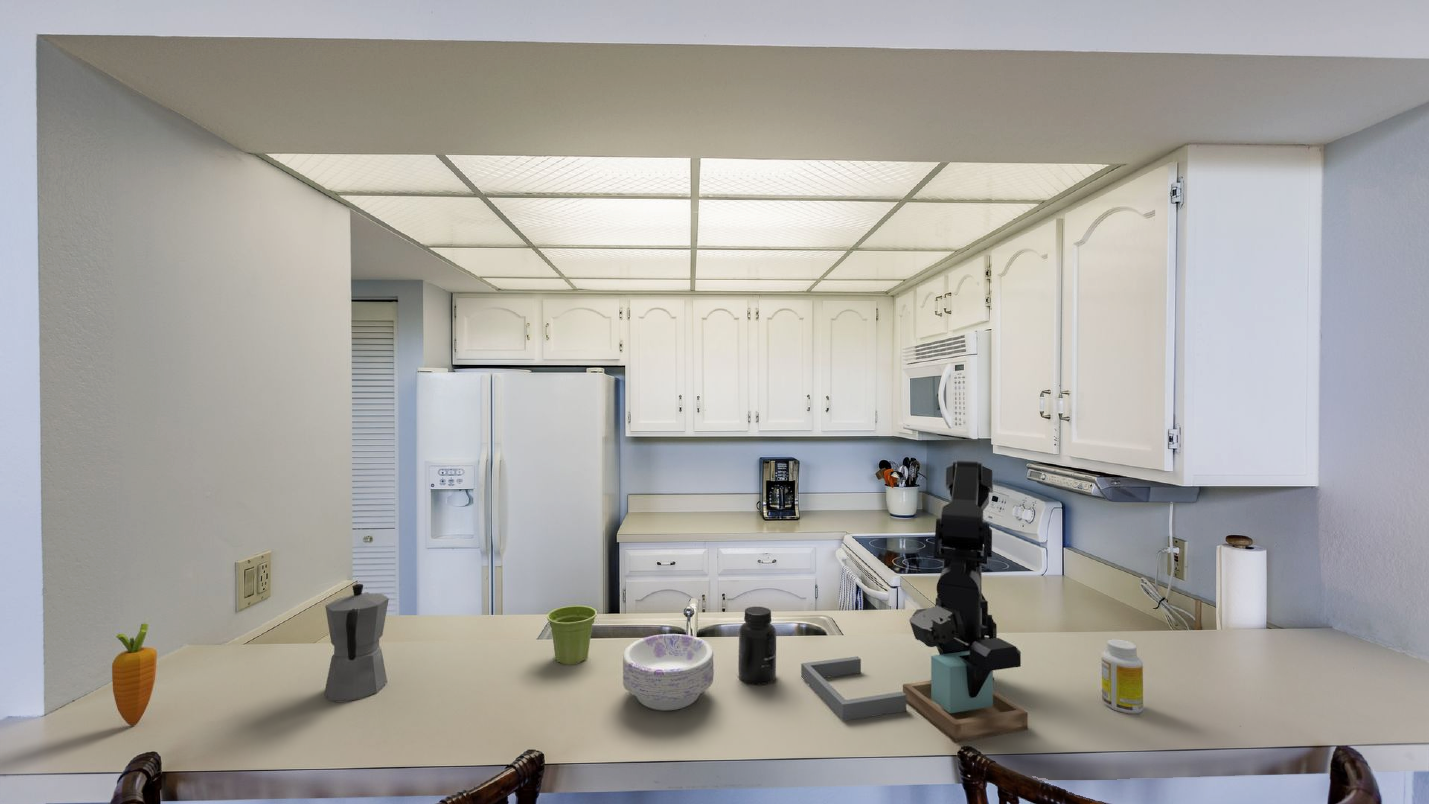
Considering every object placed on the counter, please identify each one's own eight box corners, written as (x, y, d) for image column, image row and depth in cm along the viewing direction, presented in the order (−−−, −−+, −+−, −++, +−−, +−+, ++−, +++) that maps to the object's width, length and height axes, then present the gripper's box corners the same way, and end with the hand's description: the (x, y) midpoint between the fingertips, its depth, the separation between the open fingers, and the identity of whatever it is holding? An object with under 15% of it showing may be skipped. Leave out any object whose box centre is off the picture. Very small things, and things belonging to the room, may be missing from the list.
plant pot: (597, 666, 110) (597, 620, 110) (545, 671, 108) (545, 624, 108) (595, 646, 119) (596, 604, 119) (547, 651, 117) (548, 607, 117)
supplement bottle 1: (774, 687, 102) (774, 618, 102) (735, 683, 103) (735, 615, 103) (777, 670, 109) (778, 605, 109) (741, 667, 110) (741, 603, 110)
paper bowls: (622, 725, 90) (622, 672, 90) (622, 679, 105) (623, 635, 105) (720, 717, 92) (720, 666, 92) (707, 674, 107) (707, 630, 107)
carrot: (115, 738, 85) (117, 635, 86) (105, 728, 88) (107, 628, 88) (161, 723, 90) (162, 624, 90) (150, 713, 92) (152, 618, 92)
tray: (968, 690, 101) (968, 674, 101) (1027, 729, 89) (1027, 712, 89) (902, 700, 98) (902, 684, 98) (955, 742, 85) (955, 724, 85)
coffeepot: (330, 678, 105) (331, 577, 105) (390, 668, 109) (391, 571, 109) (314, 720, 91) (315, 603, 91) (383, 707, 95) (385, 595, 95)
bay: (857, 669, 109) (857, 656, 109) (906, 710, 94) (906, 695, 94) (801, 677, 106) (801, 663, 106) (842, 720, 91) (842, 704, 91)
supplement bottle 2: (1150, 710, 94) (1150, 647, 95) (1130, 718, 92) (1130, 653, 92) (1114, 695, 100) (1114, 635, 100) (1094, 702, 97) (1093, 640, 97)
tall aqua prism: (977, 692, 97) (977, 649, 97) (997, 705, 92) (997, 661, 92) (931, 699, 94) (931, 655, 94) (949, 713, 90) (949, 667, 90)
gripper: (885, 579, 100) (885, 671, 100) (958, 616, 82) (959, 728, 82) (940, 574, 103) (940, 663, 103) (1023, 609, 85) (1023, 716, 85)
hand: (962, 690), depth 93 cm, fingers closed on tall aqua prism, 4 cm apart
